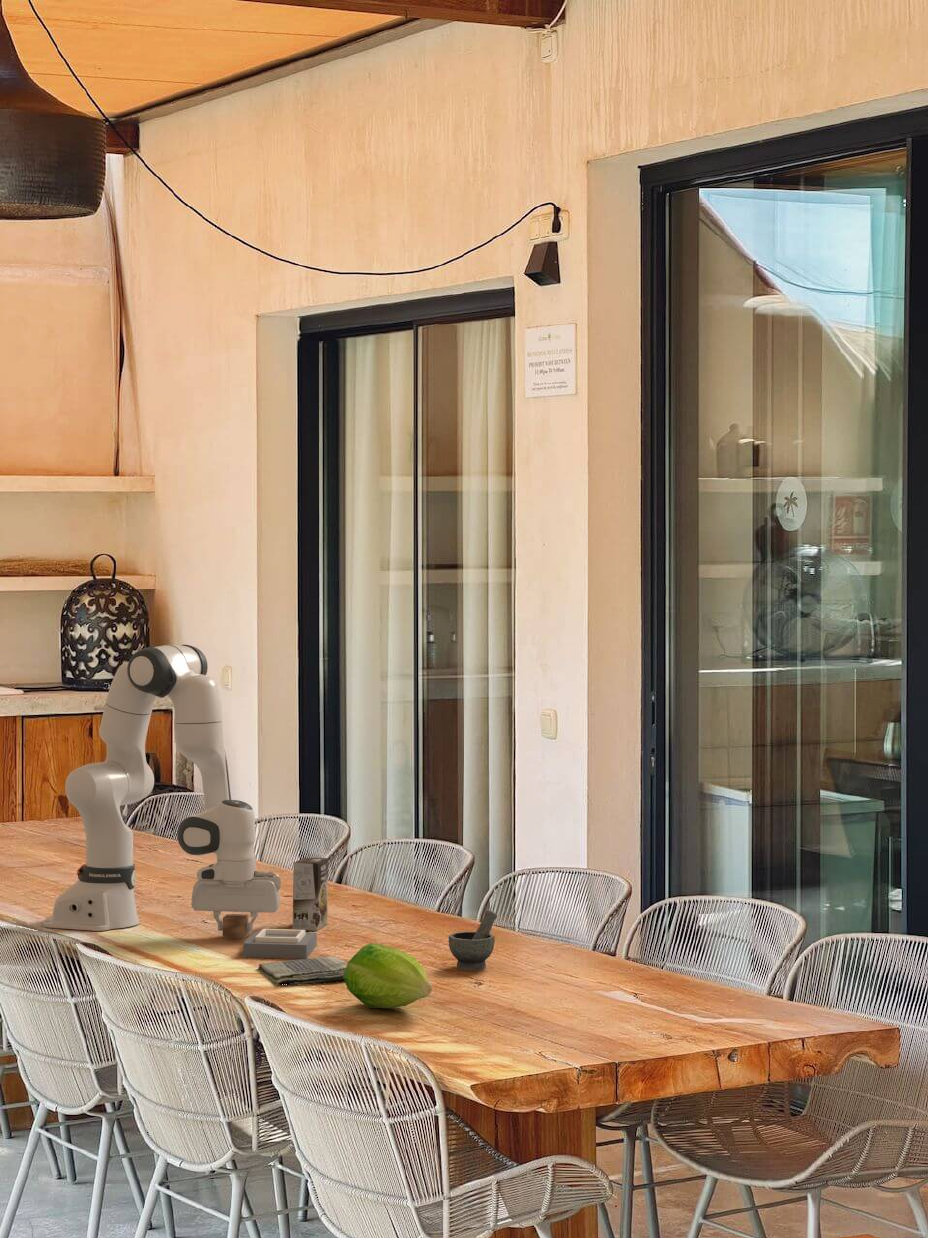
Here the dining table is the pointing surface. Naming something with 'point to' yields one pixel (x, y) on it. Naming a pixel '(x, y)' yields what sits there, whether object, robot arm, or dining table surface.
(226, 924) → the walnut block
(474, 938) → the mortar and pestle
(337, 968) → the dish towel
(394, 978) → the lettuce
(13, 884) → the dining table surface
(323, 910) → the coffee box
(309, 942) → the plinth
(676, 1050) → the dining table surface
